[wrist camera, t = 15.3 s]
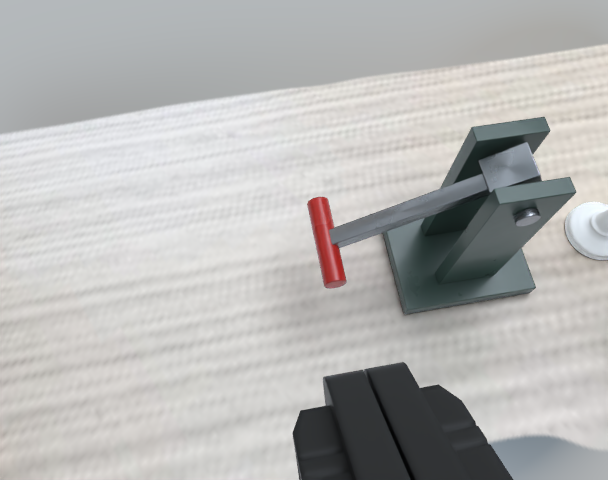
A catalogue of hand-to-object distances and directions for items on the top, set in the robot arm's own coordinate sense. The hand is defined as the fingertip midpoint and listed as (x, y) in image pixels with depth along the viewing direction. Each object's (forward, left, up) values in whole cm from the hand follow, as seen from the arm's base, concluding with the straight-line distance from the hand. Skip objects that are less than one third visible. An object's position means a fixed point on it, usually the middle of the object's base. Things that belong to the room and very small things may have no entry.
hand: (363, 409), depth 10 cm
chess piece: (+26, +13, -30) cm, 42 cm away
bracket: (+14, +13, -30) cm, 35 cm away
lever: (+10, +13, -21) cm, 27 cm away
